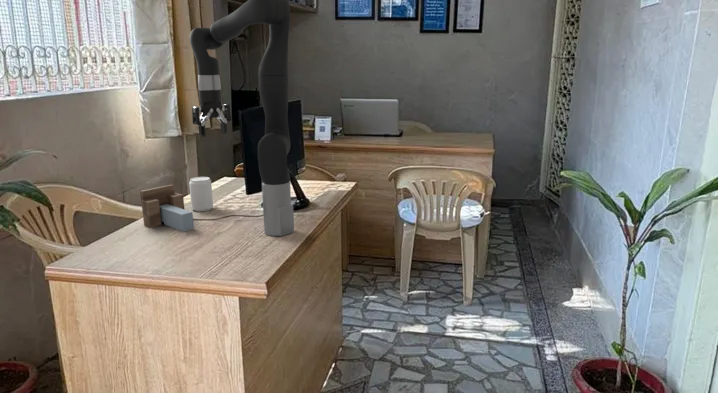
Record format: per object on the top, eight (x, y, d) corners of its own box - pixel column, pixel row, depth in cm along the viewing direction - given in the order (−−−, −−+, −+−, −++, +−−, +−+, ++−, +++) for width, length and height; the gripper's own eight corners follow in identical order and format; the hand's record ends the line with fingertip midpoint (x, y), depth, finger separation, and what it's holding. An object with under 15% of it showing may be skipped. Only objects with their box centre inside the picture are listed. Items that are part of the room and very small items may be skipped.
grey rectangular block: (194, 228, 182) (192, 212, 181) (183, 231, 179) (181, 214, 178) (169, 220, 192) (167, 204, 191) (158, 222, 189) (157, 206, 188)
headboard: (185, 218, 193) (182, 186, 190) (150, 227, 183) (146, 193, 180) (176, 215, 197) (173, 184, 194) (141, 224, 187) (138, 191, 184)
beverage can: (209, 211, 201) (207, 181, 198) (188, 212, 202) (185, 181, 198) (215, 206, 209) (213, 176, 206) (195, 206, 209) (192, 176, 206)
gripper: (220, 87, 191) (223, 132, 195) (185, 89, 180) (189, 136, 185) (233, 87, 186) (236, 133, 190) (198, 89, 176) (202, 138, 180)
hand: (213, 135), depth 187 cm, fingers open, 8 cm apart
